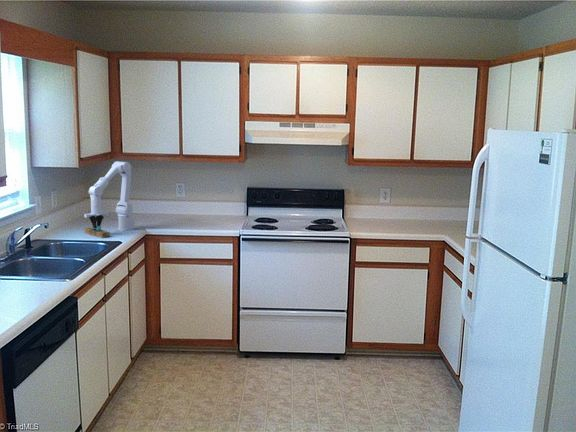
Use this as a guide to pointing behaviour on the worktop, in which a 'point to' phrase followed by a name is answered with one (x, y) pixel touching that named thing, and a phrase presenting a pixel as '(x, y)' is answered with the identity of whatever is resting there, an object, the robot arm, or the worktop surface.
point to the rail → (97, 232)
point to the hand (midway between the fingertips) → (96, 228)
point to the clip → (97, 228)
